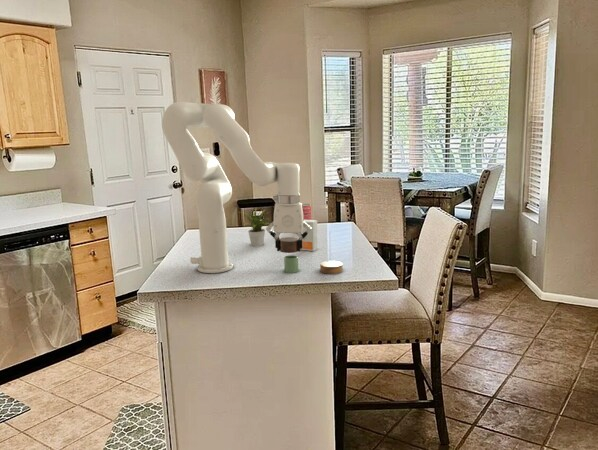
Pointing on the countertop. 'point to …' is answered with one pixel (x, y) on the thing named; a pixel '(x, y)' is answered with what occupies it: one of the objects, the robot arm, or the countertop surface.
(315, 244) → the cosmetic box
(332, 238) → the countertop surface
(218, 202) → the robot arm
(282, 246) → the brown round canister
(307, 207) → the soda can
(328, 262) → the oak chip
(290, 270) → the plastic cup
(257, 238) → the house plant
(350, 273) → the countertop surface
